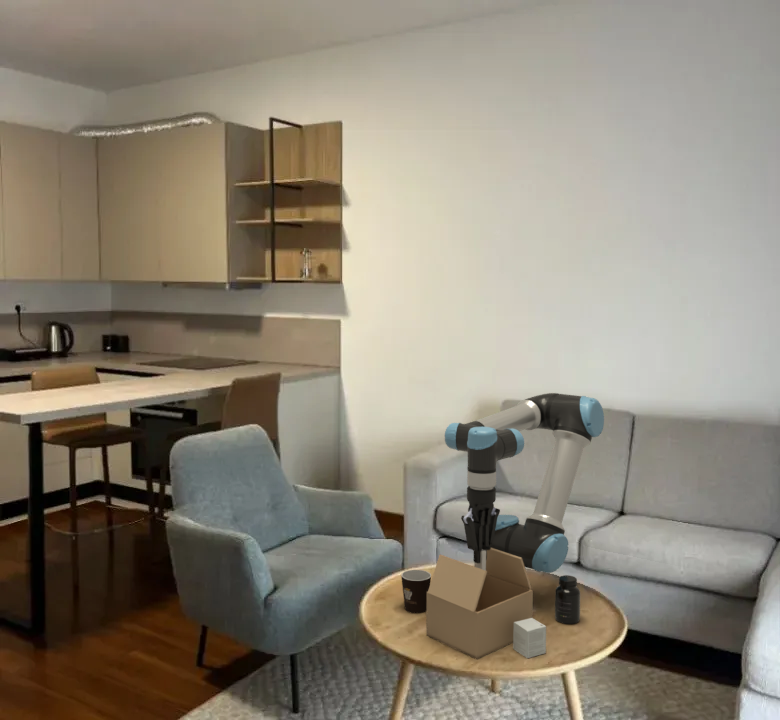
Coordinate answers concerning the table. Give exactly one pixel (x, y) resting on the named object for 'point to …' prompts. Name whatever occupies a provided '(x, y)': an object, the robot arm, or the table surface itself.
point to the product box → (529, 638)
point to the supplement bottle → (567, 600)
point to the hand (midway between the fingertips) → (479, 573)
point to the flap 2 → (507, 567)
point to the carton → (480, 618)
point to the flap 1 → (457, 582)
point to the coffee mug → (415, 590)
